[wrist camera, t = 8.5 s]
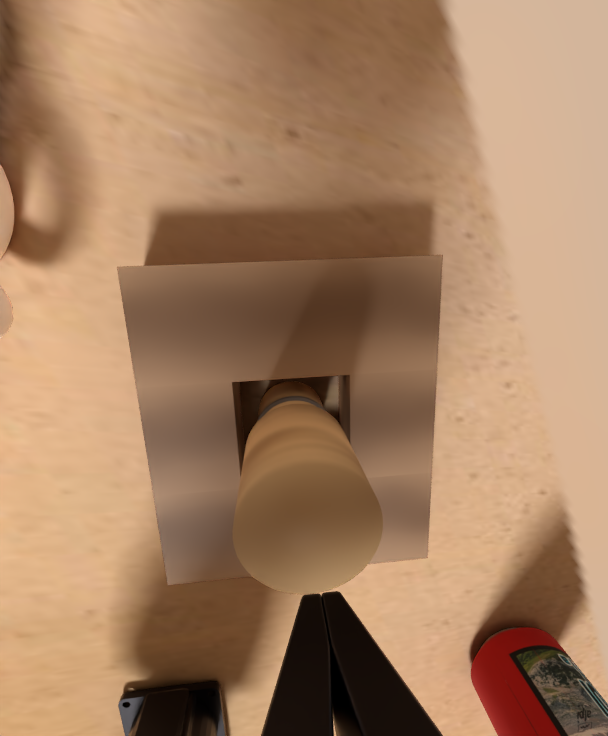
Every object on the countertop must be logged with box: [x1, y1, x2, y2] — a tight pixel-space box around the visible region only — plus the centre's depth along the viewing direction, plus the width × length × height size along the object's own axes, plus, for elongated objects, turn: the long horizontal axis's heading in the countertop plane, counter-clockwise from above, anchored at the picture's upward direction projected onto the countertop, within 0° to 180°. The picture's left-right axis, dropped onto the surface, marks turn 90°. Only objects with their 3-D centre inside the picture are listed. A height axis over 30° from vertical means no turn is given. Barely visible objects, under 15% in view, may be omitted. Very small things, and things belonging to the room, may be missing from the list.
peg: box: [232, 381, 383, 594], centre depth 15 cm, size 4×4×10 cm
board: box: [117, 255, 443, 585], centre depth 18 cm, size 16×14×3 cm
